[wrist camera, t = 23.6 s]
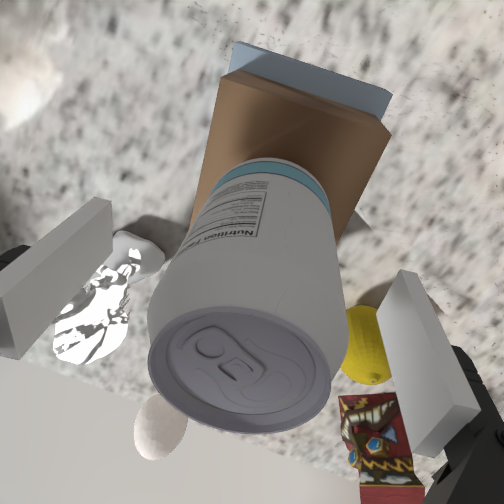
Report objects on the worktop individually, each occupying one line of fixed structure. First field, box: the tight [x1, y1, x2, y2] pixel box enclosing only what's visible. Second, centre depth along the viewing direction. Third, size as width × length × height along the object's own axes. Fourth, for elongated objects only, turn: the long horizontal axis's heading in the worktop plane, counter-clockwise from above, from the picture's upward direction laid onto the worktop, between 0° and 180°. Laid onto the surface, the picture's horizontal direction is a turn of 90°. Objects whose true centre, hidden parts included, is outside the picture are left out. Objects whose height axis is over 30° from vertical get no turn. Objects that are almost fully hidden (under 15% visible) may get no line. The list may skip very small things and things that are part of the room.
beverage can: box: [147, 158, 349, 434], centre depth 15 cm, size 7×7×12 cm
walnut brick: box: [189, 69, 392, 244], centre depth 23 cm, size 9×12×5 cm
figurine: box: [52, 231, 165, 366], centre depth 28 cm, size 9×6×12 cm
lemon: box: [340, 305, 392, 385], centre depth 30 cm, size 6×6×8 cm
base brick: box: [228, 41, 393, 121], centre depth 26 cm, size 10×14×3 cm
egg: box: [134, 394, 188, 460], centre depth 41 cm, size 6×6×8 cm
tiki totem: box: [338, 393, 425, 504], centre depth 37 cm, size 9×9×9 cm
